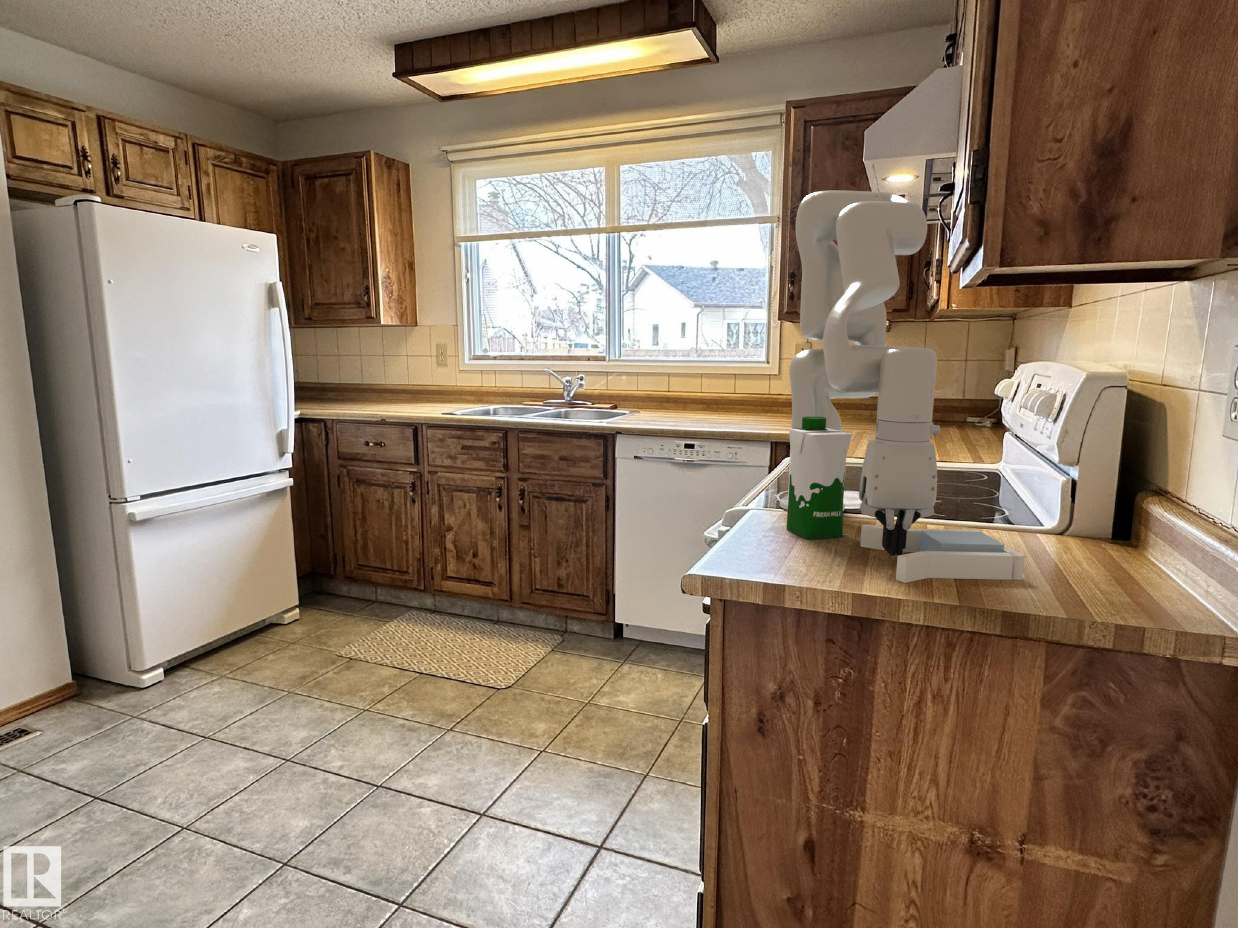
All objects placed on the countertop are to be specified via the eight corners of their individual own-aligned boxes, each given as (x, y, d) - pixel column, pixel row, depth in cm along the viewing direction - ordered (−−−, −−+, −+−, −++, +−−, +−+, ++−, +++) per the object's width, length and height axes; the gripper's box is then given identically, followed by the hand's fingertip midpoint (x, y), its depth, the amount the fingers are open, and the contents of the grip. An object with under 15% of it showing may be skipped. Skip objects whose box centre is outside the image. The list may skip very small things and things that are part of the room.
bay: (857, 544, 114) (859, 523, 114) (968, 546, 114) (970, 525, 113) (899, 582, 96) (901, 558, 95) (1031, 585, 95) (1034, 561, 95)
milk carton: (822, 525, 127) (829, 415, 123) (851, 538, 118) (859, 421, 115) (779, 528, 124) (784, 416, 121) (805, 541, 116) (812, 422, 112)
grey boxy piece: (917, 557, 108) (919, 529, 108) (975, 558, 108) (978, 530, 107) (939, 574, 100) (942, 544, 99) (1003, 576, 100) (1006, 546, 99)
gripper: (942, 430, 105) (932, 546, 108) (843, 429, 106) (836, 545, 109) (966, 436, 98) (954, 561, 101) (859, 435, 98) (851, 560, 101)
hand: (893, 552), depth 105 cm, fingers closed
